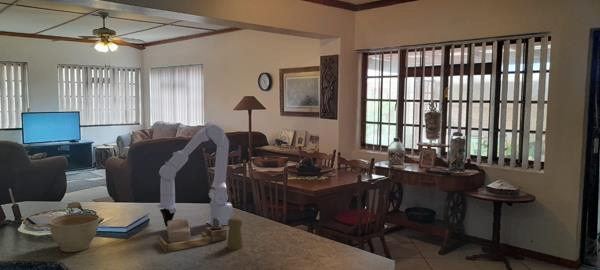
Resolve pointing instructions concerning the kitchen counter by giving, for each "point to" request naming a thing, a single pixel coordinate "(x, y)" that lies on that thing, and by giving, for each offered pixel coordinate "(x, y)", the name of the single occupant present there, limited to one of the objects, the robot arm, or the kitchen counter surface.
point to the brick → (178, 230)
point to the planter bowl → (74, 230)
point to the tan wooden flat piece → (185, 243)
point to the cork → (235, 233)
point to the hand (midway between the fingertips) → (168, 226)
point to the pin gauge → (215, 224)
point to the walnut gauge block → (216, 234)
